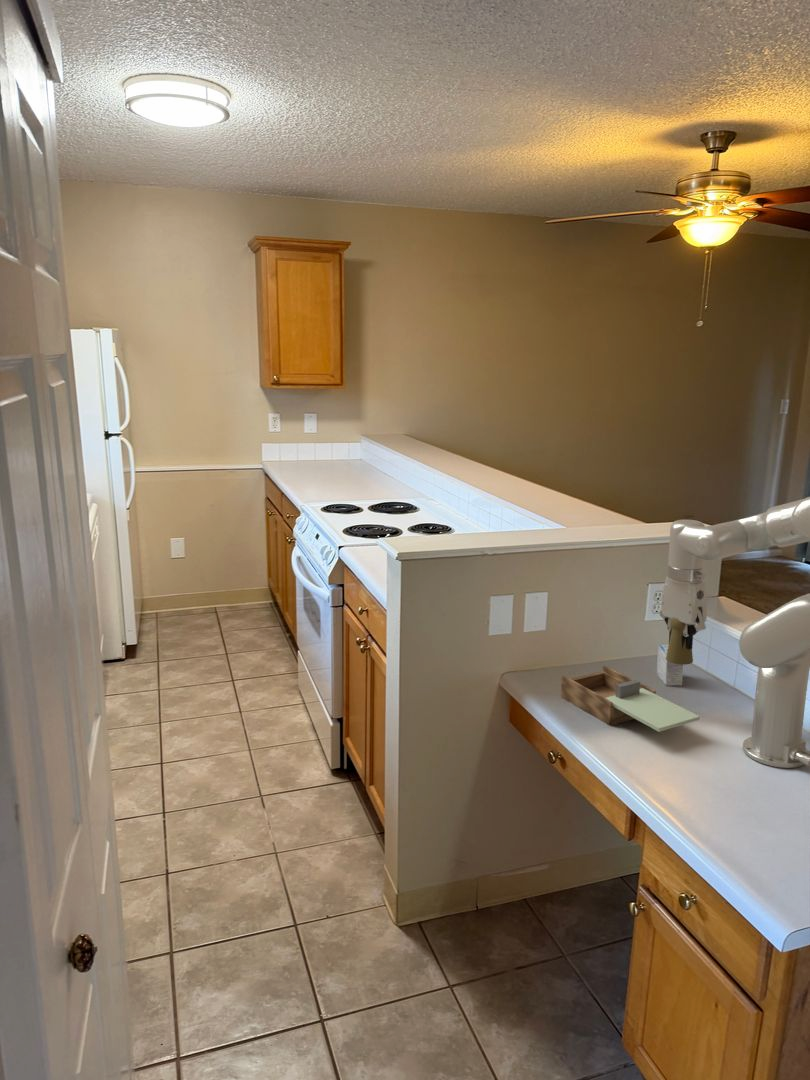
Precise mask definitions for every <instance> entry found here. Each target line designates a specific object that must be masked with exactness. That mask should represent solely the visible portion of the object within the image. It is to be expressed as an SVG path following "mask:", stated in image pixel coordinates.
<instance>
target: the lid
mask: <svg viewBox="0 0 810 1080" xmlns="http://www.w3.org/2000/svg"><path fill="white" fill-rule="evenodd" d="M640 683H641V681H638V680H637V679H633V680H632V681H628V682H624V683H620V684H616V695H614V696H610V697H606V699H608V700H610V701H611V702H612V706H613V707H615V708H617V709H619V710H620V711H622V712H624V713H626V714H628V715H629V716H631V717H633V718H635V720H637V721H638V722H640V723H642V724H644V725H646V726H648V727H650V728H651V729H653V730H654V731H657V732H659V733H661V732H662V731H666V730H670V729H673V728H677V727H679V726H680V727H681V726H684V725H686V724H689V723H693V722H697V721H700V718H701V716H699V715H698V714H695V713H694V712H692V711H690V710H688V709H686V708H683V707H682V706H680V705H677V704H676V703H673V702H672V701H669V700H668V699H665V698H664V697H663V696H662V697H661V696H659V695H658V694H656V693H655V694H654V693H652V692H650V691H648V690H646V689H644V688H641V689H640Z"/></svg>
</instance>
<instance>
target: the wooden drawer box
mask: <svg viewBox="0 0 810 1080" xmlns="http://www.w3.org/2000/svg"><path fill="white" fill-rule="evenodd" d="M632 680H634V679H633V678H630V677H628V676H627V675H625V674H622V673H621V672H618V671H617V670H614V669H613V668H610V667H609V666H606V665H602V671H598V672H593V673H589V674H585V675H581V676H577V677H573V678H569V677H568V676H566V675H564V674H563V675H561V685H560V686H561V688H560V689H561V693H560V697H561V698H562V699H564V700H566V701H567V702H569V703H570V704H572V705H573V706H575V707H577V708H579V709H581V710H582V711H584V712H585V713H587V714H589V715H590V716H592V717H594V718H595V719H597V720H599V721H601V722H603V723H604V724H606V725H608V726H613V725H616V724H620V723H623V722H627V721H631V720H634V719H635V718H633V717H631V716H629V715H628V714H626V713H624V712H622V711H620V710H619V709H617V708H615V707H613V706H612V702H611V701H610V700H608V699H606V697H610V696H614V695H616V684H620V683H624V682H628V681H632ZM641 688H644V689H646V690H648V691H650V692H652V693H654V694H656V690H655V689H653V688H651V687H650V686H647V685H645V684H643V683H641V682H640V689H641ZM635 720H636V719H635Z"/></svg>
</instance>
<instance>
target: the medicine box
mask: <svg viewBox="0 0 810 1080" xmlns="http://www.w3.org/2000/svg"><path fill="white" fill-rule="evenodd" d="M668 646H669V644H659V645H658V646H657V658H656V659H657V661H656V675H657V676H658V677H659V679H660V680H661V681H662V682H663V684H664V685H665V686H670V687H671V686H672V687H675V686H676V687H677V686H678V687H679V686H680V687H681V686H682V685H683V676H684V675H683V673H684V665H681V664H674V663H671V662H669V661H667V660H666V656H667V651H668Z"/></svg>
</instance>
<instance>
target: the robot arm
mask: <svg viewBox="0 0 810 1080" xmlns="http://www.w3.org/2000/svg"><path fill="white" fill-rule="evenodd" d="M804 543H810V496H807V497H805V498H801V499H799V500H795V501H791V502H786V503H783V504H780V505H775V506H772V507H769V508H767V510H766V511H765V512H762V513H757V514H755V515H749V516H747V517H744V518H739V519H735V520H732V521H731V520H730V521H726V522H722V523H717V524H714V525H713V524H712V525H708V526H707V525H706V526H705V524H704V523H703V522H702V521H700V520H696V519H678V520H674V521H673V522H672V523H671V525H670V531H669V544H668V545H669V546H668V559H667V560H668V563H667V576H665V580H664V584H663V588H662V595H661V607H660V608H661V609H660V611H659V616H660V617H661V618H662V619H663V620H664V622H665V624H666V626H667V630H668V631H669V633H668V642H669V641H670V637H671V631H672V627H671V625H670V619H671V618H676V619H678V620H679V621H680V622H682V623H684V624H685V629H684V631H683V635H684V636H681V640H682V649H683V645H684V641H685V638H686V648H687V649H688V650H689V649H691V648H692V649H693V641H694V636H695V635H697V633H698V632H700V631H704V630H706V629H707V626H706V624H705V622H706V621H707V618H708V616H707V615H708V614H707V613H708V597H707V594H708V593H707V587H706V582H705V581H703V580H704V579H705V578H706V576H705V573H703V570H704V560H706V561H718V560H721V559H725V558H727V557H731V556H736V555H739V554H743V553H747V552H752V551H755V550H756V551H757V550H760V549H765V548H771V547H778V548H786V547H791V546H795V545H800V544H804ZM691 625H693V626H692V627H691V628H690V629H689V626H691ZM738 640H739V641H738V646H739V650H740V653H741V655H742V657H743V658H744V660H745V661H747V662H748V663H749V664H750V665H752V666H753V667H757V668H758V671H757V675H756V676H757V678H756V685H755V695H754V705H753V706H754V707H753V715H752V717H753V719H752V726H751V736H750V737H747V738H746V739H744V740H743V742H742V750H743V752H744V753H745V755H747V756H748V757H749V758H750V759H753V760H754V761H756V762H758V763H760V764H763V765H766V766H770V767H775V768H783V769H792V768H793V769H795V768H798V767H801V766H804V765H806V766H808V767H810V750H808V749H807V746H806V745H807V741H806V740H804V739H802V735H803V728H804V727H803V726H804V718H805V710H806V709H805V708H806V701H807V700H806V698H807V691H808V683H809V676H810V675H809V674H810V593H806V594H803V595H801V596H798V597H796V598H794V599H793V600H792V599H791V600H790V601H788V602H786V603H784V604H783V605H780V607H777V608H776V609H774V610H773V611H770V612H769V613H767V614H765V615H764V616H762V617H760V618H758V619H757V620H756V619H755V621H753V622H752V623H750V624H749V625H747V626H746V627H745V628H744V629H743V630H742V632H741V634H740V637H739V639H738Z"/></svg>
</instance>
